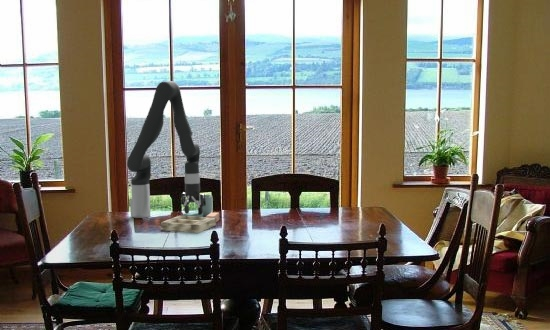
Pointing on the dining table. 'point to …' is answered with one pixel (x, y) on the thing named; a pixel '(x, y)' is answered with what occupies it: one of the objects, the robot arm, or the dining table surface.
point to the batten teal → (193, 214)
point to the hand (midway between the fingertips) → (193, 213)
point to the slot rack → (188, 224)
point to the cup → (208, 205)
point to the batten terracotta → (213, 215)
